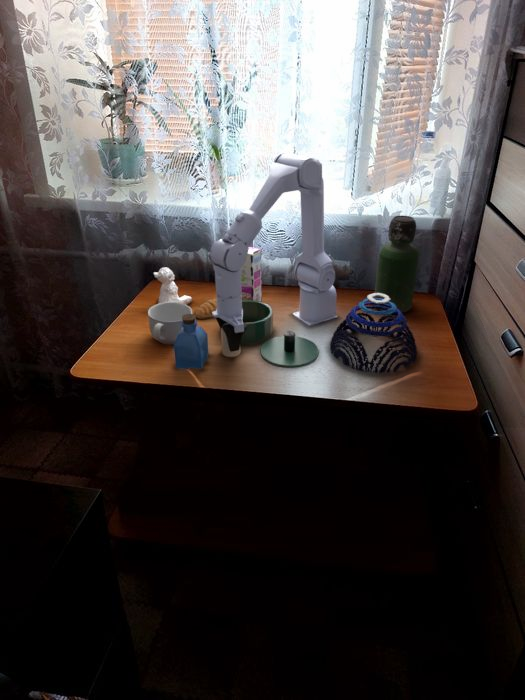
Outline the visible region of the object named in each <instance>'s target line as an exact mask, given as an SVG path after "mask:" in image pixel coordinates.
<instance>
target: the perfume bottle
mask: <svg viewBox="0 0 525 700" xmlns="http://www.w3.org/2000/svg"><path fill="white" fill-rule="evenodd" d="M182 320H183V321H182V322H181V323H182V327H183V328H182V329H181V331H180V332H179V334H178V336H177V339H176V341H175V343H174V344H173V354H174V362H175V363H174V364H175V369H178V370H179V369H180V370H189V371H190V370H191V369H201V370H202V369H203V368H204V365H205V363H206V361H207V359H208V357H209V355H210V352H209V337H208V335H209V334H208V333H207V331H205V330H204V328H203V327H202V326H201V325H198V321H197V317H196V315H194V313H192V314H185V315H183V316H182Z"/></svg>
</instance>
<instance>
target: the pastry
mask: <svg viewBox="0 0 525 700" xmlns="http://www.w3.org/2000/svg"><path fill="white" fill-rule="evenodd" d="M216 310H217V299H216V298H213V299H207V300H205V301H204V302H203V303H202V304H200V305H199V306H198V307H196V308H195V309H194V311H193V312H194V313H193V314H194V315H196V319H201V320H203V319H210V318H212V319H213V318H214V317H213V315H212V312H213V311H216Z"/></svg>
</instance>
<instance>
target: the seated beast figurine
mask: <svg viewBox="0 0 525 700" xmlns="http://www.w3.org/2000/svg"><path fill="white" fill-rule="evenodd" d="M153 275H154V278H156V279H157V281H158V282H160V283H161V286H160V289H159V298H158V303H157V304H159V303H164V302H177V303H182V304H185V305H187V306H188V305H190V304H191V303H192V301H193V298H192V297H191V296H189V295H186V294H184V295H182V296H180V297H179V294H178V293H179V292H178V290H179V287H178V286H177V284H176V283H175V281H174V280H175V279H176V278H175V277H176V275H175V274H174V272H173V270H172V269H170V267H165V266H164V267H161V268H160V269H159V270H158V272H156V271H154V272H153Z"/></svg>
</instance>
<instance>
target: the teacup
mask: <svg viewBox="0 0 525 700" xmlns="http://www.w3.org/2000/svg"><path fill="white" fill-rule="evenodd" d="M185 314H193V309H192V308H191V306H189V305H188V304H187V305H185V304H182V303H177V302H164V303H159V304H158V303H156V304H154V305H152V306H150V307H149V309H148V310H147V316H148V327H149V332H150V334H151V336H152V337H153V339H155V340H156V341H157V342H159V343H162V344H164V345H174V343H175V341H176V339H177V336H178V334H179V332H180V331H181V329H182V328H183V327H182V323H181V322H182V321H183V320H182V316H183V315H185Z"/></svg>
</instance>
